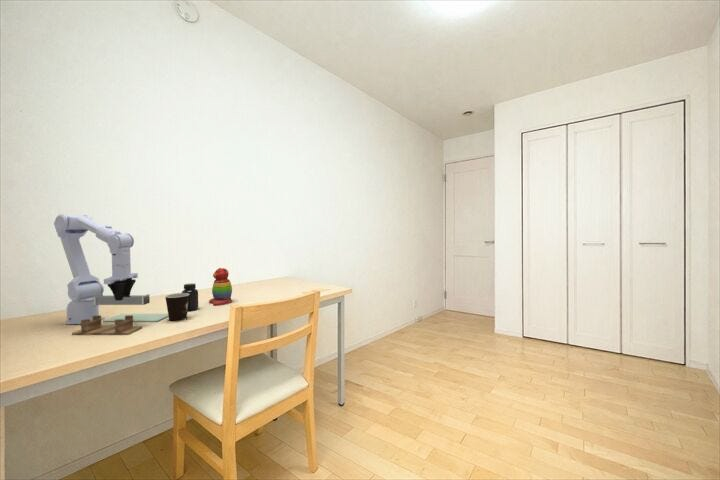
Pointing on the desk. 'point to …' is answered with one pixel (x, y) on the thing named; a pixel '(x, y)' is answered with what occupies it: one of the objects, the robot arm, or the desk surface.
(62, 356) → the desk surface
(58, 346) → the desk surface
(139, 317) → the mat
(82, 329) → the stand
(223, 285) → the stacking bear
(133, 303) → the rail
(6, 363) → the desk surface
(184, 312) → the coffee mug
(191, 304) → the supplement bottle
